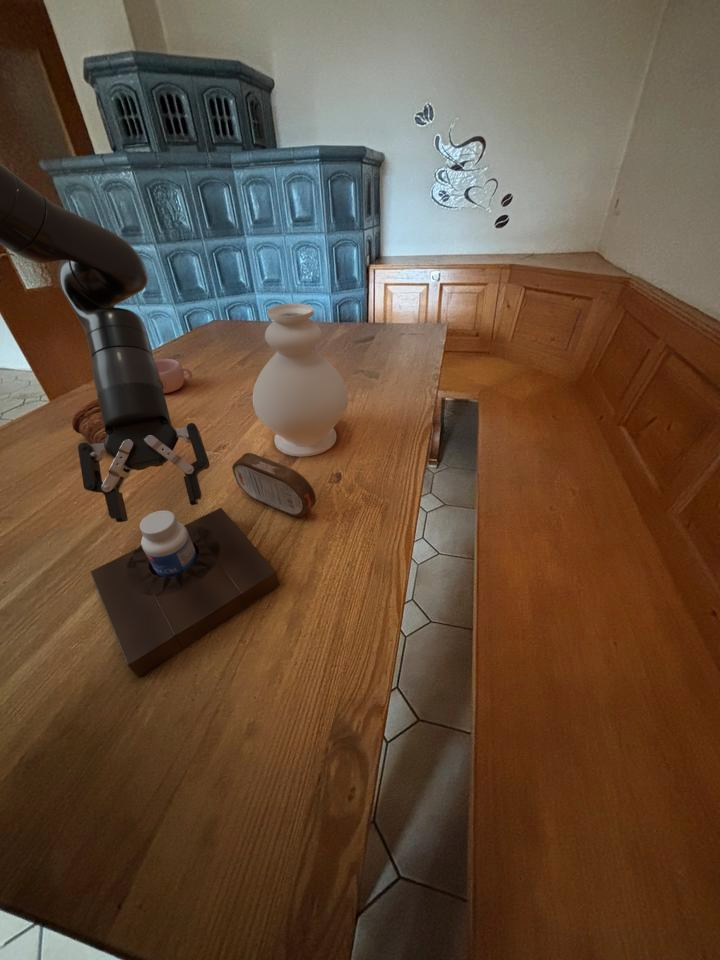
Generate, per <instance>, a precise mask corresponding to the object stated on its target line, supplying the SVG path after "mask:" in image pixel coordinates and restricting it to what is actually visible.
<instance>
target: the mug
mask: <svg viewBox="0 0 720 960" xmlns="http://www.w3.org/2000/svg"><path fill="white" fill-rule="evenodd" d="M154 362H155V364H156V367H157V369H158V372H159V375H160V379H161V381H162V383H163V392H164V394H168V393H172V392H175V391H178V390H179V389H181V388H182V386H183V385H184V382H185V381H187V382H188V381H191V380H192V379H193V373H192V371H191V369H189V368H188V367H183V366H182V364H181V362H180V361H178V360H176V359H173V358H172V359H171V358H161V359H154ZM185 372H187V373H188V377H186V376H185Z"/></svg>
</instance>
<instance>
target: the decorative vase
mask: <svg viewBox="0 0 720 960" xmlns="http://www.w3.org/2000/svg"><path fill="white" fill-rule="evenodd" d="M314 311H315V310H314V307H313V306H311V305H310V304H306V303H298V302H297V303H295V302H293V303H283V304H278V305H274V306H271V307H269V308H268V309H267V310H266V314H267V318H268V319H269V320H272V322H271V323H270V324H269V325H268V326H267V328H266V330H265V332H264V340H265V342H266V343H267V345H268V346H269V347H270V348H271V349H273V350H274V351H275V353H274V354H273V355H272V356H271V357H270V359H269V360H268V361H267V362H266V364H265V365H264V366H263V368H262V369H261V371H260V373H259V375H258V376H257V378H256V381H255V382H254V386H253V389H252V397H251V398H252V399H251V400H252V406H253V411H254V413H255V415H256V417H257V418H258V420H259V421H260V422H261V423H262V425H264V427H266V428H267V429H269V430H270V431H272V432H273V433H274V434H275V435H274V438H273V442H274V444H275V447H276V449H277V450H278V451H279V452H281V453H283V454H284V455H288V456H292V457H301V458H302V457H303V458H304V457H311V456H312V457H313V456H316V455H320V454H322V453H325V452H327V451H328V450H329V449H331V448H332V447H333V446H334V445H335V443H336V441H337V433H336V430H335V429H334V427H335V426H336V425H337V424H338V423H339V422H340V420H341V419H342V417H343V416H344V415H345V413H346V410H347V408H348V405H349V404H348V402H349V394H348V388H347V385H346V382H345V381H344V379H343V377H342V375H341V374H340V373H339V371H338V370H337V369H336V368H335V367H334V365H333V364H332V363H331V362H330V361H329V360H328V359H326V358H325V357H324V356H323V355H322V354H320V353H319V352H318V351H316V349H315V348H316V347H317V345H318V344H319V343H320V341H321V339H322V331H321V329H320V327H319V326H318V324H317V323H316V322H314V320H312V319H311V317H313V316H314V314H315V313H314Z"/></svg>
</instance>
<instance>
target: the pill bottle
mask: <svg viewBox="0 0 720 960" xmlns="http://www.w3.org/2000/svg"><path fill="white" fill-rule="evenodd" d="M184 525H185V524H183V523H182V522H180V521H178V520H177V518H176V516H175V514H174V513H173V512H171V511H170V510H165V509H164V510H162V509H161V510H156V511H153V512H151V513H148V514H147V515H146V516H144V517H143V518H142V519H141V520H140V523H139V530H140V532H141V534H142V537H141V541H140V546H141V545H142V548H143V550H144V552H145V554H146V556H147V557H148V559H149V561H150V563H151V565H152V566H153V568H154V570H155V572H156V574H157V576H158V577H172V576H176V575H179V574H181V573H183V572H185V571H186V570H188V569H189V568H190V567H191V566H192V565H193V564H194V563H195V562H196V560H197V558H198V555H197V553H196V551H195V548H194V546H193V543H192V541H191V539H190V536H189V534H188V532H187V529H186V528H185V526H184Z"/></svg>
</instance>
